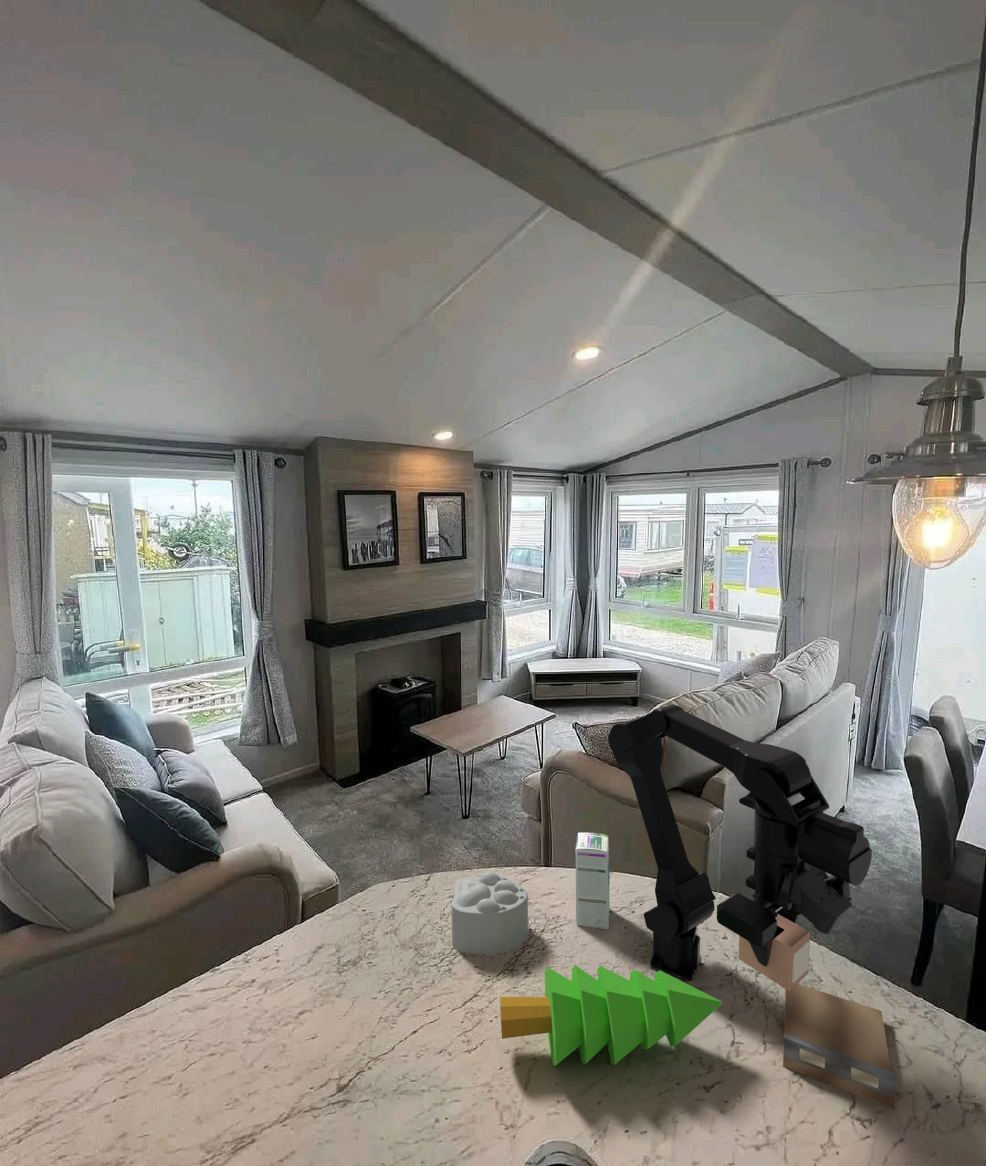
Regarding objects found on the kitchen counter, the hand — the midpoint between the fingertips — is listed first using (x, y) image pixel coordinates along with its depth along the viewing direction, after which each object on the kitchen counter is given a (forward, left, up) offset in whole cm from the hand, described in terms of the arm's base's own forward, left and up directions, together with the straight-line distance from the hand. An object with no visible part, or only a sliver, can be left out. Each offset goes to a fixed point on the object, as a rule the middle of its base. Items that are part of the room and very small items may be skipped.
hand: (773, 955), depth 78 cm
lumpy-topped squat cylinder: (-44, 0, -12) cm, 45 cm away
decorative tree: (-19, -13, -12) cm, 25 cm away
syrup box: (-29, +12, -12) cm, 34 cm away
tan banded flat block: (+8, +3, -12) cm, 14 cm away
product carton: (0, 0, -2) cm, 2 cm away
